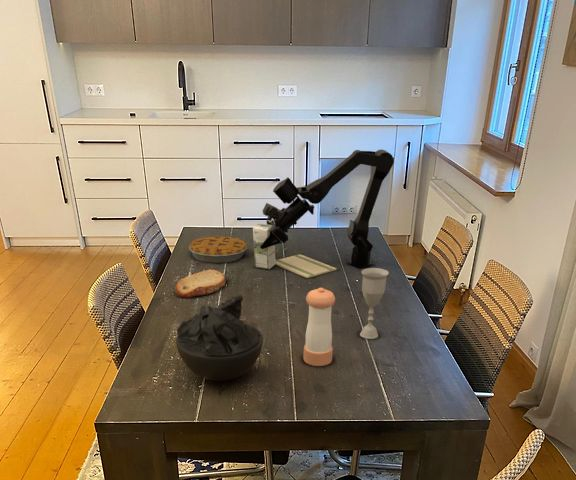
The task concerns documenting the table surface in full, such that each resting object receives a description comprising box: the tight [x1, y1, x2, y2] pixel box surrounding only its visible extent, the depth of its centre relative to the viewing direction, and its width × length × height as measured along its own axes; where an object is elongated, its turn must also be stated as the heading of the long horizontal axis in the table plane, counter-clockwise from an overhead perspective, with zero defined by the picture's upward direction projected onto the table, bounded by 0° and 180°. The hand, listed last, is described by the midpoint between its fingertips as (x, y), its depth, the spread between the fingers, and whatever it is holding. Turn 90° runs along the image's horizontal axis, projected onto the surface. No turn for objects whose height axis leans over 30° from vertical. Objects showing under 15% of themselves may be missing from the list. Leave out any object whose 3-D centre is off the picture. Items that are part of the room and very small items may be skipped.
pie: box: [188, 235, 248, 264], centre depth 218 cm, size 22×22×5 cm
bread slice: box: [174, 269, 227, 299], centre depth 190 cm, size 18×18×4 cm
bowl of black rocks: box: [175, 294, 264, 382], centre depth 136 cm, size 20×20×19 cm
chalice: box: [359, 267, 390, 340], centre depth 157 cm, size 7×7×18 cm
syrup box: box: [252, 223, 277, 270], centre depth 205 cm, size 6×6×14 cm
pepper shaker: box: [302, 287, 336, 367], centre depth 144 cm, size 7×7×19 cm
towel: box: [274, 253, 338, 279], centre depth 210 cm, size 14×20×1 cm
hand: (260, 244), depth 205 cm, fingers closed on syrup box, 8 cm apart
